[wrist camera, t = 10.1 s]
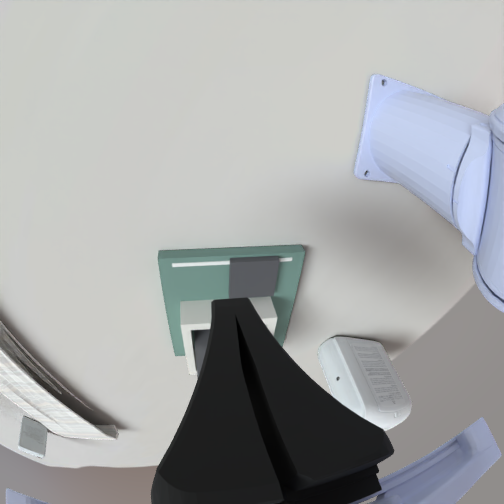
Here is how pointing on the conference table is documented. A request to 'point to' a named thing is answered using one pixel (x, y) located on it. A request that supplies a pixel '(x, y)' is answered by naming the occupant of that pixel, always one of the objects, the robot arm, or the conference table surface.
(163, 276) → the board
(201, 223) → the conference table surface
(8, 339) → the white keyboard
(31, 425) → the skincare box
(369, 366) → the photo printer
